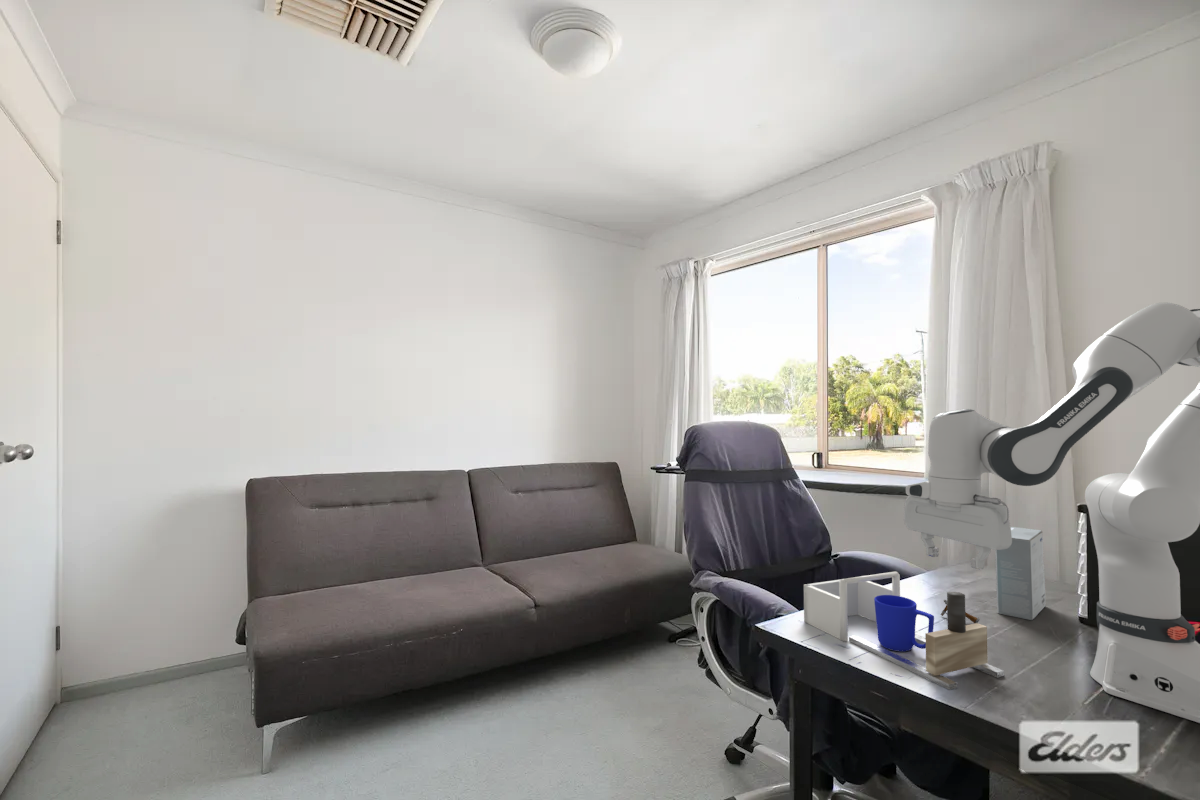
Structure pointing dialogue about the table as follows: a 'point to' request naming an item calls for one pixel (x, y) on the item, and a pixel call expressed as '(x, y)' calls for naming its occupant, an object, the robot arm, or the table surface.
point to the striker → (956, 641)
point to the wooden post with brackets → (965, 614)
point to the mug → (898, 622)
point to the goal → (844, 601)
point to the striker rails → (917, 668)
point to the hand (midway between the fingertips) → (954, 562)
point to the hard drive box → (1021, 575)
